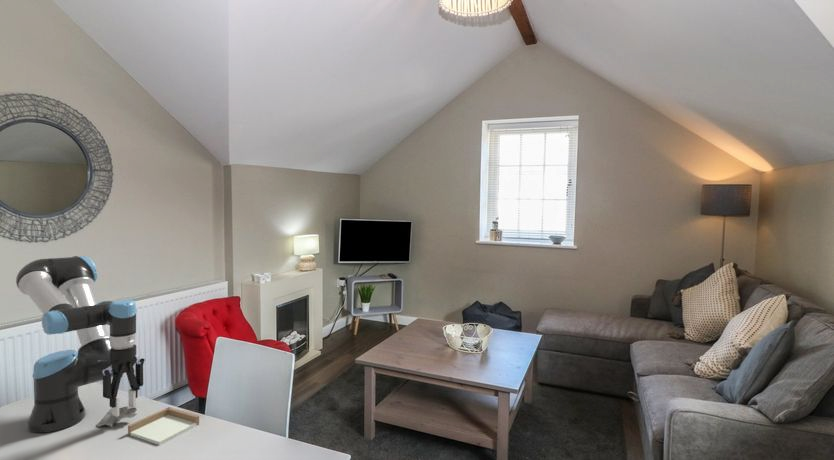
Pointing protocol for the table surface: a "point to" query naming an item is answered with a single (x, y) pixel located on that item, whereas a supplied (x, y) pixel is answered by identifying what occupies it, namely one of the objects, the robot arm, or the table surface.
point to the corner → (163, 425)
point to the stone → (123, 413)
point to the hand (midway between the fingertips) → (124, 411)
